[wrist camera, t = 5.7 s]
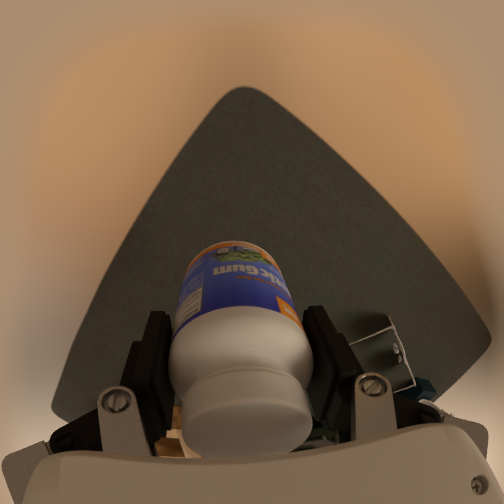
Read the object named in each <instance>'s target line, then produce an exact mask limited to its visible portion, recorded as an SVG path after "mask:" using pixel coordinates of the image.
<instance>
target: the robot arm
mask: <svg viewBox="0 0 504 504" xmlns="http://www.w3.org/2000/svg"><path fill="white" fill-rule="evenodd" d="M302 325H303V328H304V331H305V333H306V336H307V338H308V341H309V344H310V346H311V349H312V353H313V357H314V368H313V374H312V378H311V380H310V383H309V385H308V386H307V388H306V390H307V393H308V396H309V399H310V402H311V405H312V408H313V412H314V415H315V418H316V420H317V422H320V421H321V423H322V426H323V428H326V427H331V428H332V429H335V430H336V434H335V445H332V446H327V447H322V448H316V449H310V450H304V451H298V452H291V453H283V454H274V455H265V456H253V457H238V458H168V457H159V454H158V451H157V448H156V445H155V443H156V442H157V441H159V440H160V439H161V437H162V438H166V435H167V431H171V429H172V419H173V408H174V398H175V391H174V389H173V387H172V385H171V382H170V379H169V375H168V359H169V351H170V344H171V338H172V327H171V320H170V315H165V312H164V311H151V312H150V316H149V319H148V322H147V325H146V328H145V332H144V335H143V339H142V341H134V342H133V343H132V346H131V349H130V352H129V355H128V358H127V361H126V365H125V368H124V371H123V374H122V378H121V381H120V385H119V386H112V387H109V388H107V389H105V390H104V391H102V392H101V393H100V395H99V397H98V401H97V406H98V408H96V409H94V410H92V411H91V412H89V413H87V414H85V415H83V416H81V417H80V418H78V419H76V420H74V421H72V422H70V423H68V424H66V425H65V426H63V427H61V428H59V429H57V430H56V431H55V432H53V434H52V435H51V437H50V440H49V441H48V442H46V443H45V442H44V441H41V442H38V443H36V444H34V445H31V446H29V447H26V448H24V449H21V450H19V451H16V452H14V453H11V454H9V455H7V456H6V457H5V458H4V460H3V462H2V471H3V474H4V477H5V480H6V483H7V486H8V488H9V491H10V493H11V496H12V499H13V501H14V503H15V504H504V493H503V492H502V489H501V487H500V485H499V483H498V481H497V480H496V478H495V476H494V474H493V472H492V470H491V468H490V466H489V465H488V463H487V461H486V455H487V447H488V431H487V429H486V428H485V427H484V426H483V425H481V424H479V423H475V422H471V421H467V420H463V419H459V418H455V417H451V416H448V415H444V416H443V417H441V416H440V414H439V412H438V411H437V410H436V409H435V408H433V407H431V406H429V405H426V404H423V403H420V402H418V401H415V400H412V399H409V398H407V397H404V396H401V395H399V394H396V393H393V392H392V389H391V385H390V382H389V381H388V380H387V378H385V377H384V376H383V375H380V374H378V373H373V372H367V373H364V371H363V369H362V367H361V365H360V364H359V362H358V360H357V358H356V356H355V354H354V353H353V351H352V349H351V347H350V346H349V344H348V342H347V340H346V338H345V337H344V335H343V334H342V333H337V331H336V329H335V327H334V326H333V324H332V322H331V320H330V318H329V316H328V315H327V313H326V311H325V309H324V307H323V306H309V307H308V310H304V314H303V321H302Z"/></svg>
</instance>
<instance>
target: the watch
mask: <svg viewBox="0 0 504 504" xmlns="http://www.w3.org/2000/svg"><path fill="white" fill-rule="evenodd" d="M414 379H415V382H416V386H412V387H409V388H407V389H404V390H403V391H402V392H401V393H400V394H399V395H401V396H404V397H407V398H409V399H412V400H415V401H418V402H420V403H423V404H426V405H429V406H431V407H433V408H435V409H436V410H437V411H438V412H439V414H440V416H441V417H443V416H444V415H448V416H451V417H454V415H453V414H450V415H449V414H448V413H446V412H445V411H444V410H442V409H441V410H440V409H439V408H438V407H437V406H436V405H435V404H434V403H432V402H431V401H430V400H431V399H432V398H433V397H434V396H435V395H436V394H437V392H436V391H435V389H434V388H433V386H432V385H431V383H430V382H429V380H425V379H421V378H417V377H415V378H414ZM413 384H414V383H413V380H412V381H411V382H410V383H409V384H408V385H407V386H406V387H408V386H411V385H413ZM406 387H405V388H406Z"/></svg>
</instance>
